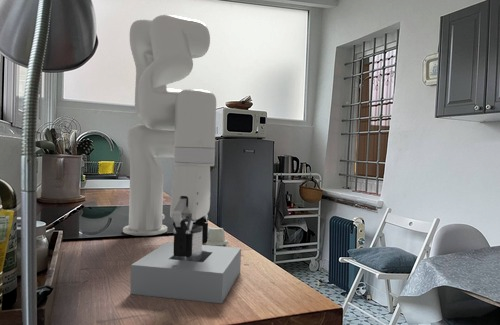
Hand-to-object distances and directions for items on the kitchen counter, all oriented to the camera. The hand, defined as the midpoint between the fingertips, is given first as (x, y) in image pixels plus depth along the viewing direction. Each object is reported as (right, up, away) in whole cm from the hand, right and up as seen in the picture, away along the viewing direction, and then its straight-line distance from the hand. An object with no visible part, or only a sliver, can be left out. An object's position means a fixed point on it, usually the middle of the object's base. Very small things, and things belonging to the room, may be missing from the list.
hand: (191, 248), depth 69 cm
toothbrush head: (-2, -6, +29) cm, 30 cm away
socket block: (0, -6, 0) cm, 6 cm away
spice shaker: (0, -5, 0) cm, 5 cm away
